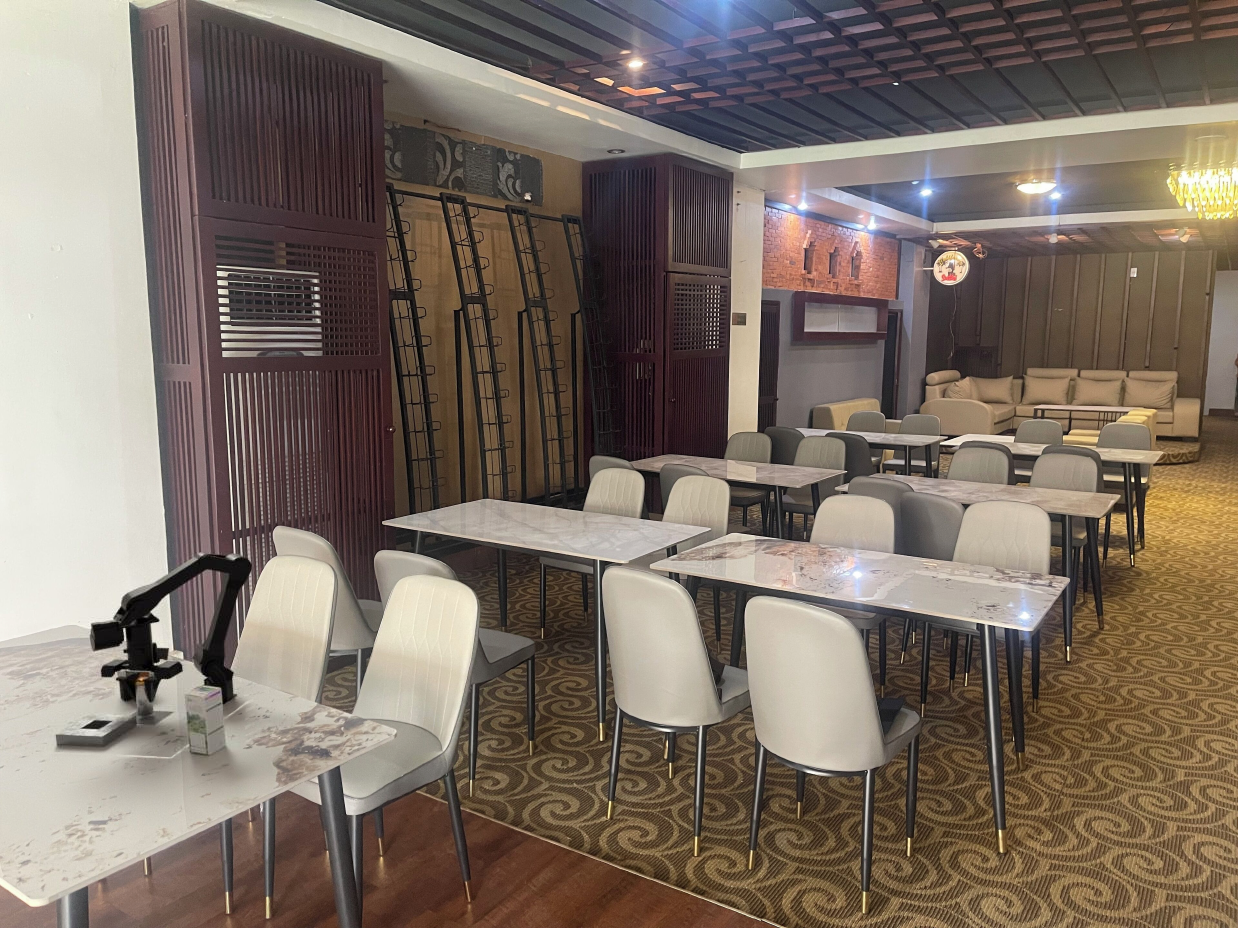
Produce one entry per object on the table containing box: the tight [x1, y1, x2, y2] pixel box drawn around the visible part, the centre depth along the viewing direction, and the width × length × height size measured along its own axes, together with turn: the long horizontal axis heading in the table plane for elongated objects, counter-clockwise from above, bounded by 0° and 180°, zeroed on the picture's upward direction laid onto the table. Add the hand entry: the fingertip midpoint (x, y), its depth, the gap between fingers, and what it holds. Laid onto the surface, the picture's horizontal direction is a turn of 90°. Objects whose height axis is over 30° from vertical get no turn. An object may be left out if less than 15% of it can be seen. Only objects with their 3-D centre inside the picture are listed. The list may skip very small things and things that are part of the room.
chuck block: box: [55, 713, 138, 748], centre depth 217 cm, size 12×12×3 cm
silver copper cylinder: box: [135, 677, 155, 717], centre depth 226 cm, size 4×4×9 cm
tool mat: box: [130, 710, 174, 726], centre depth 227 cm, size 10×8×1 cm
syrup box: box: [184, 684, 227, 756], centre depth 208 cm, size 6×6×14 cm
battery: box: [118, 673, 149, 702], centre depth 241 cm, size 4×7×10 cm, turn 133°
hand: (144, 701), depth 227 cm, fingers closed on silver copper cylinder, 4 cm apart
